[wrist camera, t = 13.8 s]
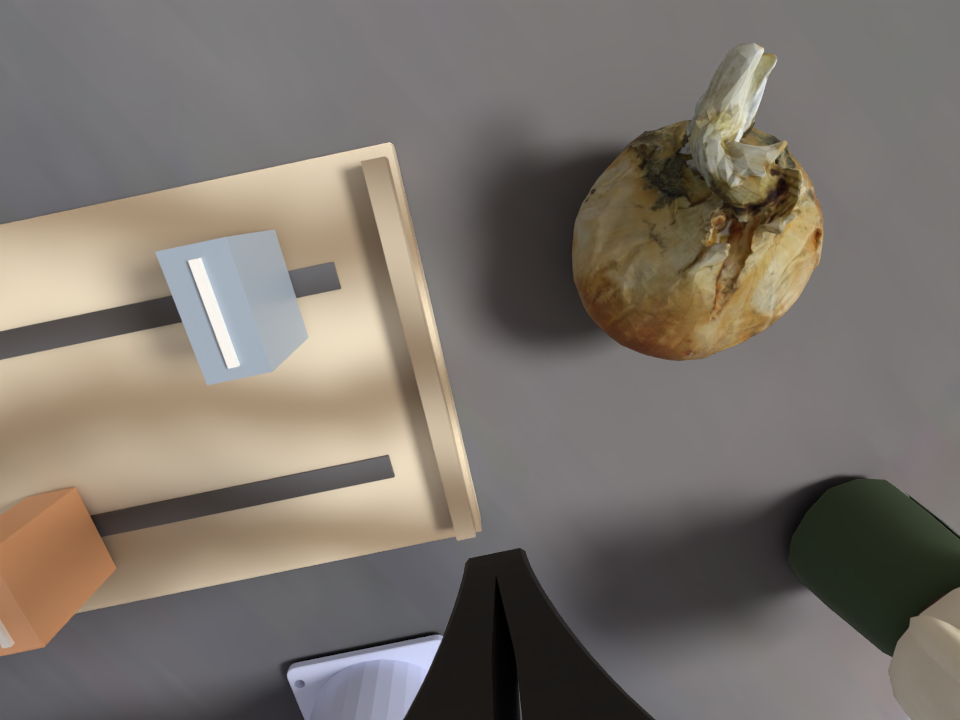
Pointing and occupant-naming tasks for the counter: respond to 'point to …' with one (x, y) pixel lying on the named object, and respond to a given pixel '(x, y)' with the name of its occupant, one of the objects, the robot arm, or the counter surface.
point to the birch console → (232, 383)
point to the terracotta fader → (47, 567)
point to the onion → (699, 226)
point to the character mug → (889, 585)
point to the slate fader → (235, 304)
